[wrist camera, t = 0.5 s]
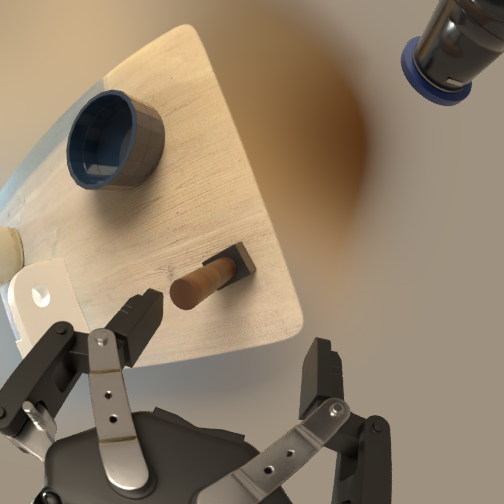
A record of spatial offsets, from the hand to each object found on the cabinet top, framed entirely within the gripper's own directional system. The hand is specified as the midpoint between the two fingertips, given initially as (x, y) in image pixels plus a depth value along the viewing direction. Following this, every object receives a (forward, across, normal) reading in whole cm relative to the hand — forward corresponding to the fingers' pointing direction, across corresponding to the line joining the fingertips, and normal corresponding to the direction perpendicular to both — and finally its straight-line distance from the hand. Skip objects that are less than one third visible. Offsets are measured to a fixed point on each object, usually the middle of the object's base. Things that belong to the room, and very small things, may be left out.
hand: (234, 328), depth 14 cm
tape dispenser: (+20, +37, +30) cm, 52 cm away
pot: (+27, +25, -3) cm, 37 cm away
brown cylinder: (+21, +4, +9) cm, 23 cm away
